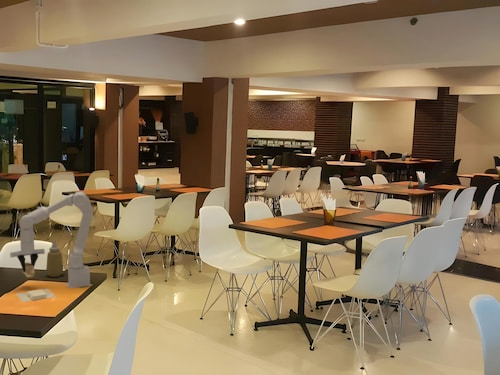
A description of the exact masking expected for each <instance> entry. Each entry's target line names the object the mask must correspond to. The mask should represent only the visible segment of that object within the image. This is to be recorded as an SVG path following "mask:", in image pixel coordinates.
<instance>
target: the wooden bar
mask: <svg viewBox="0 0 500 375" xmlns="http://www.w3.org/2000/svg"><path fill="white" fill-rule="evenodd" d="M21 271H22V272H21V273H22V274H24V275H25V277H26V278H32V277H35V266H33V265H32V264H31V262H29V261H28V262H27V261H25V272H23V269H22V268H21Z"/></svg>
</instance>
